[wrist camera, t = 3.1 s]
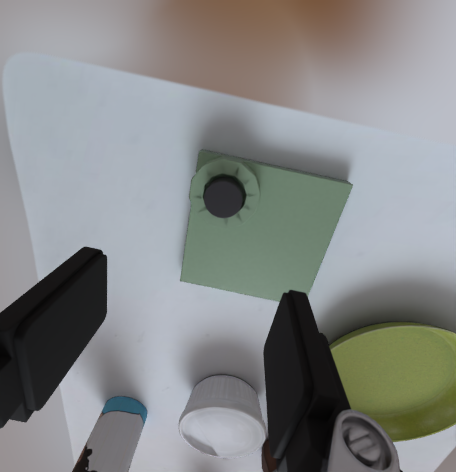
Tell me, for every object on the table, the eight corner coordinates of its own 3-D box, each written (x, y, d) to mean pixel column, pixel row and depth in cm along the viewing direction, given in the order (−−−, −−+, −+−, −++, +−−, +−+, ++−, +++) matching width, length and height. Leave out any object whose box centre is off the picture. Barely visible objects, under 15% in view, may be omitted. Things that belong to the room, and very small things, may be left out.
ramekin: (172, 395, 39) (161, 434, 35) (217, 355, 35) (212, 393, 30) (230, 428, 42) (228, 469, 37) (279, 394, 38) (284, 435, 33)
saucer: (291, 316, 32) (296, 336, 29) (484, 294, 29) (510, 315, 26) (306, 423, 40) (311, 447, 37) (458, 415, 37) (476, 440, 34)
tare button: (204, 207, 24) (201, 214, 22) (210, 173, 23) (207, 177, 21) (238, 215, 24) (237, 222, 22) (246, 180, 23) (246, 185, 21)
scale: (182, 274, 30) (175, 289, 28) (201, 148, 24) (195, 152, 22) (301, 299, 31) (306, 316, 28) (348, 180, 25) (360, 188, 22)
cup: (98, 398, 41) (23, 539, 27) (137, 394, 40) (80, 539, 26) (115, 425, 43) (55, 566, 30) (153, 422, 42) (108, 566, 29)
